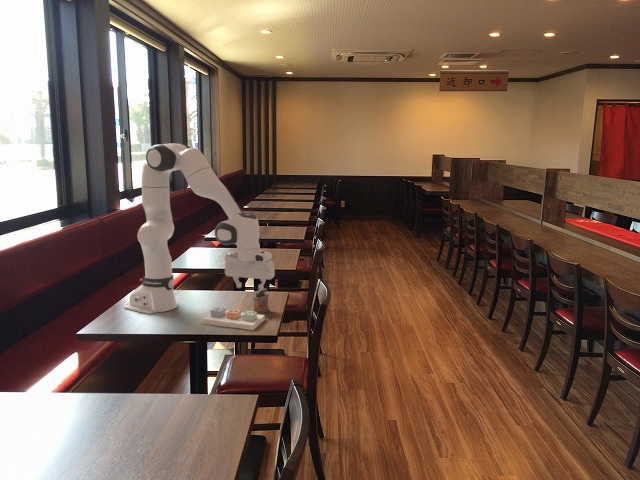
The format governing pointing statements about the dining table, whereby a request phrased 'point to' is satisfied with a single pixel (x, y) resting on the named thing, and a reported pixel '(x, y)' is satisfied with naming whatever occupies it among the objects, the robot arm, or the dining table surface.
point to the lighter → (261, 301)
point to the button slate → (218, 312)
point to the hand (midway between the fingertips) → (250, 288)
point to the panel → (233, 322)
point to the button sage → (250, 316)
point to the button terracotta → (233, 314)
